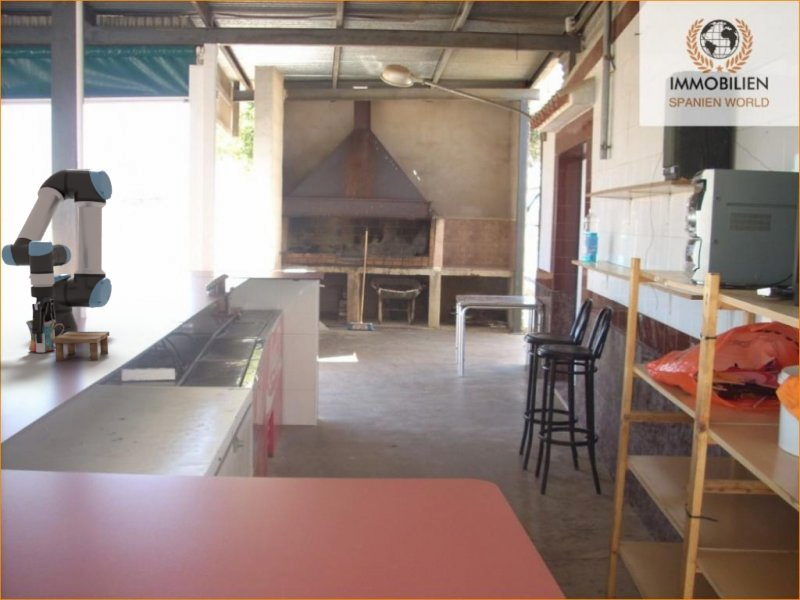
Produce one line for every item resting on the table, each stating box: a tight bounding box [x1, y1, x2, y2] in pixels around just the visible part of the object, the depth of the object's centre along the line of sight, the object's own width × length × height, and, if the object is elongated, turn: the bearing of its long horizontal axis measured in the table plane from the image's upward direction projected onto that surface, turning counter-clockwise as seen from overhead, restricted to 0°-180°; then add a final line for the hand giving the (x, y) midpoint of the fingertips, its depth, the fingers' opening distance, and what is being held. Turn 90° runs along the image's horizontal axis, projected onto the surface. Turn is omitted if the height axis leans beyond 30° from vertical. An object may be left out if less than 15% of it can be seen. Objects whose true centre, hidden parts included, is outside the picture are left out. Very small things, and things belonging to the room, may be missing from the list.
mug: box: [25, 319, 64, 353], centre depth 267 cm, size 12×9×11 cm
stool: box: [52, 331, 110, 362], centre depth 257 cm, size 14×14×7 cm
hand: (45, 349), depth 267 cm, fingers closed on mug, 8 cm apart
